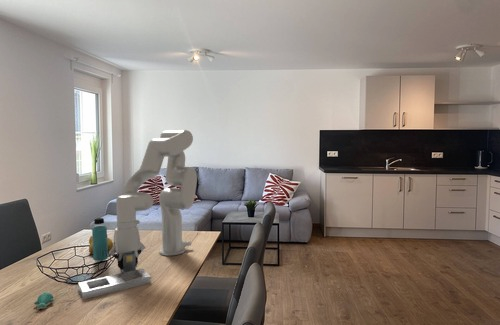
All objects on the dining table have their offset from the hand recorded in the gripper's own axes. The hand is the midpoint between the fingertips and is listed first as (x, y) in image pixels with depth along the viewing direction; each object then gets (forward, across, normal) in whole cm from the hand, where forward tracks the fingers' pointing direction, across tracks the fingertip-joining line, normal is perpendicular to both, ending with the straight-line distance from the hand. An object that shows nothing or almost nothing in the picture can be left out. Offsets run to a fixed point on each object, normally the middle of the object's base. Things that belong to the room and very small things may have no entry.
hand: (128, 266), depth 145 cm
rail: (+2, +8, +12) cm, 15 cm away
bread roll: (+2, +3, -33) cm, 33 cm away
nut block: (+2, 0, 0) cm, 2 cm away
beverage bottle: (+2, +7, -19) cm, 20 cm away
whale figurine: (+2, +31, +14) cm, 34 cm away
